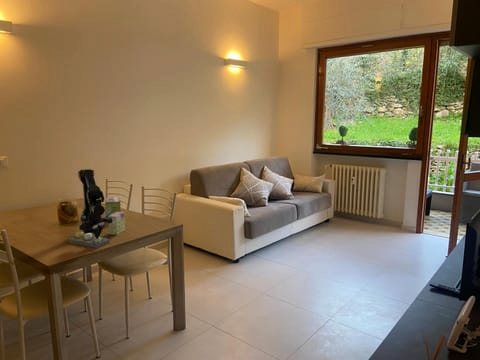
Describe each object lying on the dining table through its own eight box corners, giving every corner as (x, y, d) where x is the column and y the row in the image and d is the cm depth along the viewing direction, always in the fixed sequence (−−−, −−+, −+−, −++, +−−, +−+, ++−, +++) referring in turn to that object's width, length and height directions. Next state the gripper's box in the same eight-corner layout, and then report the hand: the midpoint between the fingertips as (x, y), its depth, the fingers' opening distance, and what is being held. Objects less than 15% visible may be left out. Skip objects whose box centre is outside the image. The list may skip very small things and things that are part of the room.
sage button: (97, 241, 204) (97, 236, 204) (103, 242, 203) (103, 237, 202) (92, 243, 201) (91, 238, 200) (97, 245, 199) (97, 240, 198)
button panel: (82, 236, 214) (82, 233, 214) (109, 242, 205) (109, 239, 204) (68, 241, 205) (67, 238, 205) (95, 248, 196) (95, 244, 195)
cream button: (88, 237, 207) (88, 232, 207) (94, 238, 205) (93, 233, 205) (83, 239, 203) (82, 234, 203) (88, 240, 202) (87, 235, 201)
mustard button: (80, 235, 210) (80, 230, 210) (85, 236, 208) (85, 231, 208) (74, 237, 206) (73, 233, 206) (79, 239, 205) (79, 234, 204)
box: (117, 229, 229) (116, 211, 227) (125, 230, 228) (124, 212, 226) (108, 234, 218) (107, 216, 216) (117, 235, 218) (116, 216, 216)
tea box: (121, 221, 246) (120, 200, 243) (106, 223, 242) (104, 202, 239) (120, 216, 259) (119, 196, 257) (105, 217, 256) (104, 197, 253)
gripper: (98, 206, 210) (99, 231, 213) (71, 213, 194) (73, 241, 196) (112, 208, 206) (113, 234, 208) (85, 216, 189) (87, 244, 192)
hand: (97, 238), depth 201 cm, fingers closed, pressing on sage button
